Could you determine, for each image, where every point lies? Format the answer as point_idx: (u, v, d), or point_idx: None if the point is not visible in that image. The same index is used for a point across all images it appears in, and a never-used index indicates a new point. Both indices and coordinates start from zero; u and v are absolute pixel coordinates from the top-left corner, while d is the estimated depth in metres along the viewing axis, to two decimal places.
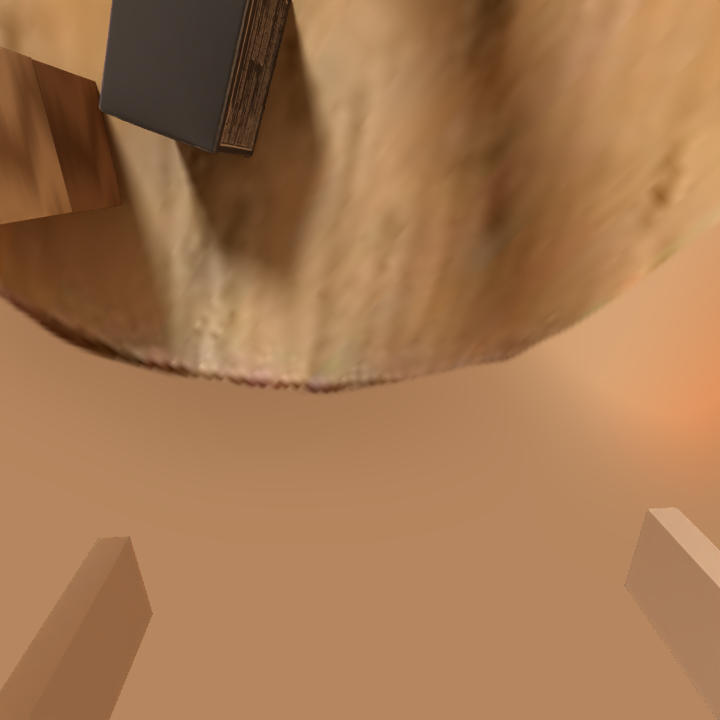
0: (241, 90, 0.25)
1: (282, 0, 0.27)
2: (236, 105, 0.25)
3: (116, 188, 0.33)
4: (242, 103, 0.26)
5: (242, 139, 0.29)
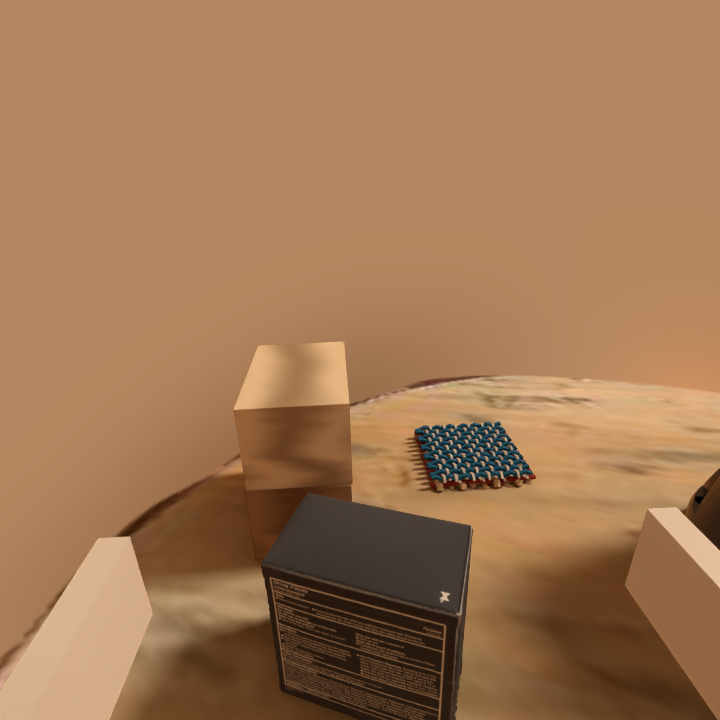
0: (324, 616, 0.23)
1: (433, 716, 0.23)
2: (309, 607, 0.23)
3: None
4: (315, 626, 0.24)
5: (288, 646, 0.25)
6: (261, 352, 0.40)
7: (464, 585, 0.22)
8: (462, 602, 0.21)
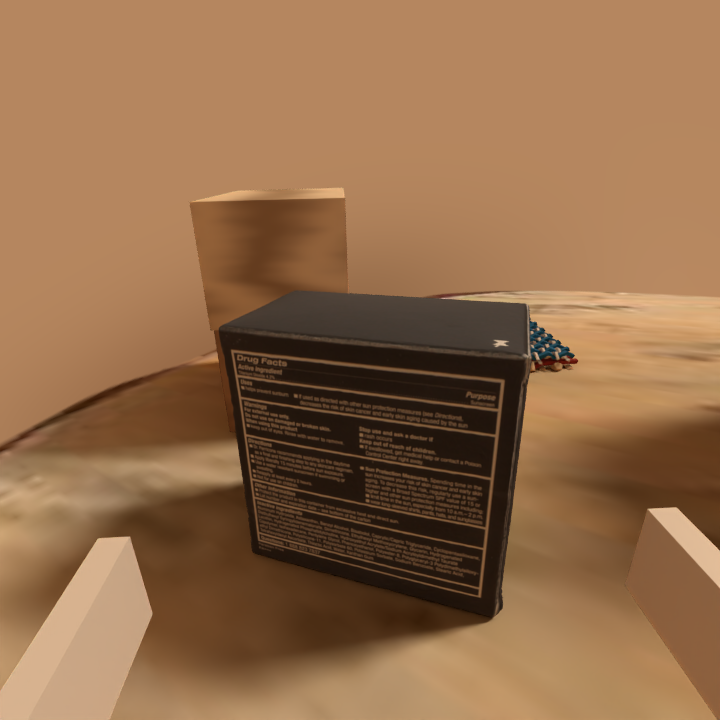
0: (311, 405, 0.15)
1: (474, 562, 0.16)
2: (289, 393, 0.16)
3: None
4: (299, 427, 0.16)
5: (261, 473, 0.17)
6: (239, 191, 0.32)
7: (528, 338, 0.14)
8: (529, 350, 0.13)
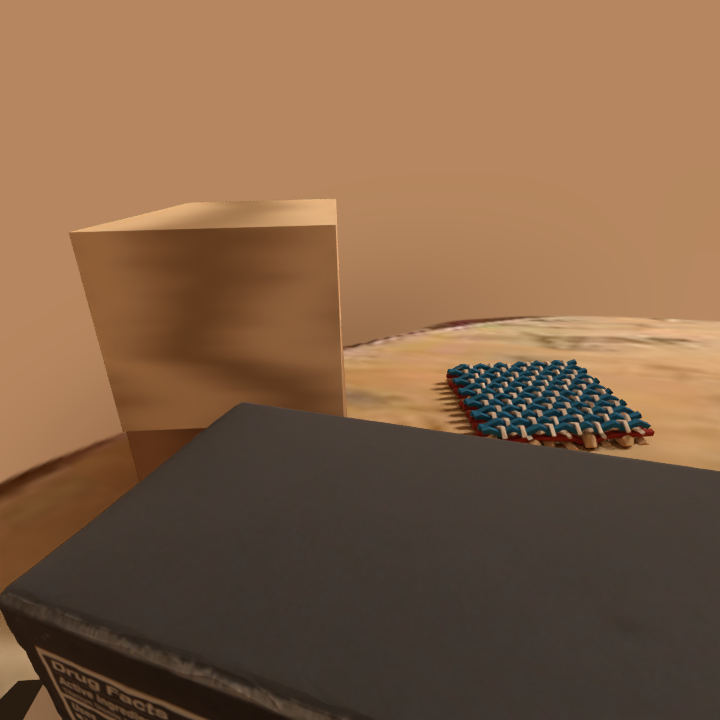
0: None
1: None
2: None
3: None
4: None
5: None
6: (188, 205, 0.23)
7: None
8: None
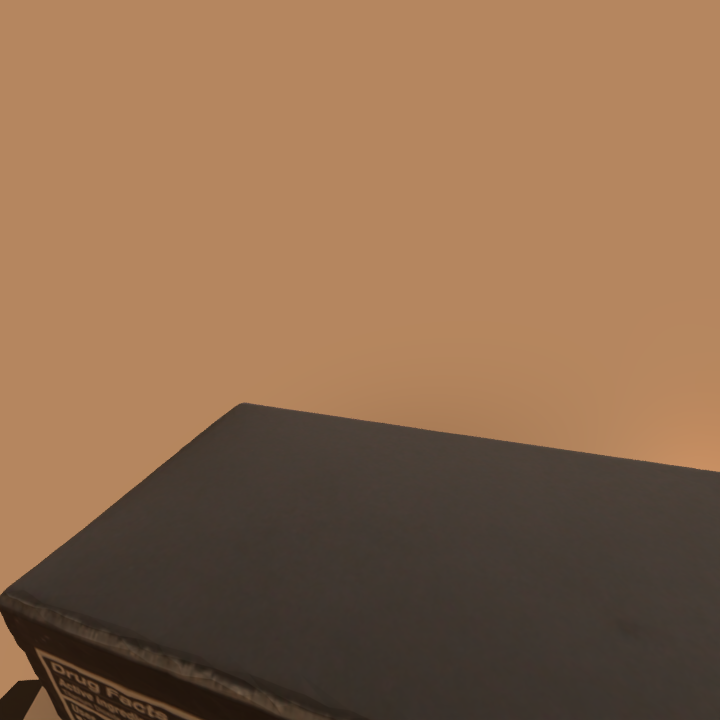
0: None
1: None
2: None
3: None
4: None
5: None
6: None
7: None
8: None
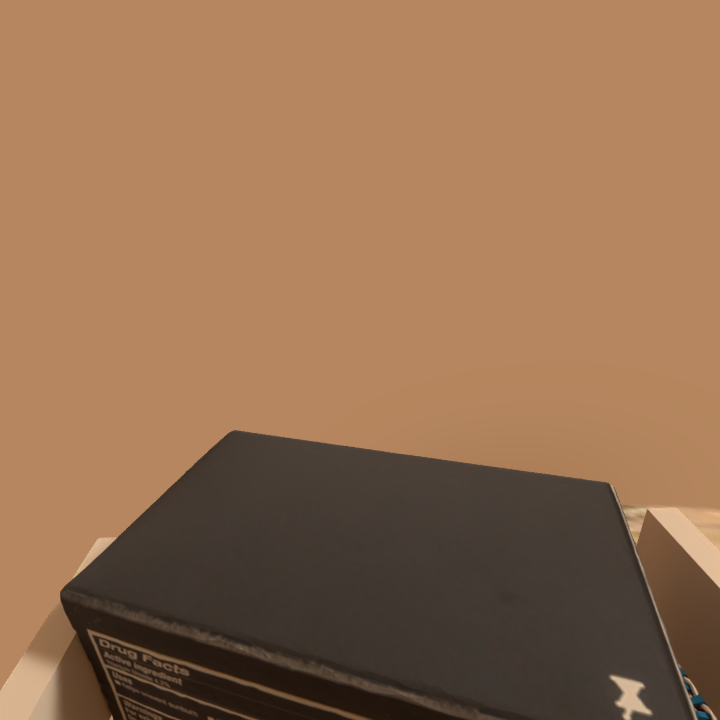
0: None
1: None
2: (200, 713, 0.08)
3: None
4: None
5: None
6: None
7: (670, 648, 0.07)
8: (694, 716, 0.06)
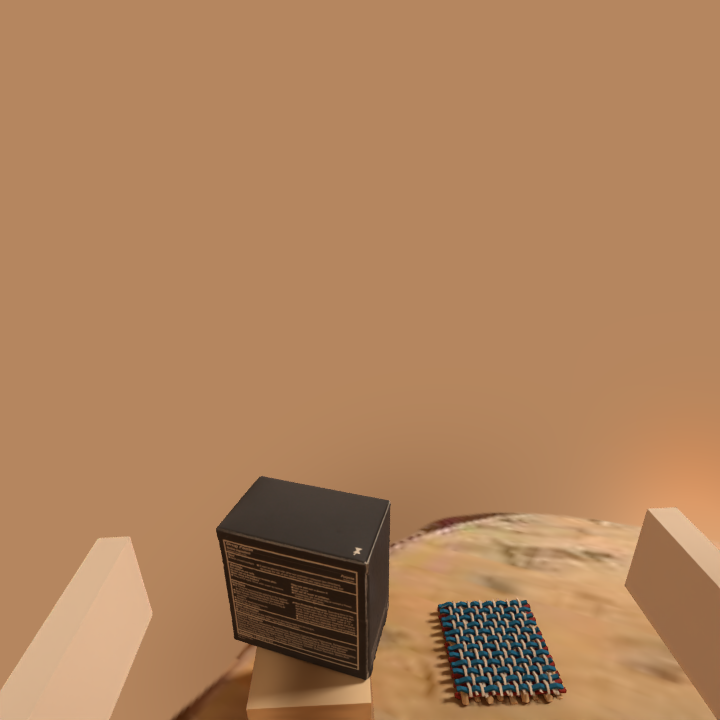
0: (266, 570, 0.29)
1: (353, 652, 0.29)
2: (254, 563, 0.29)
3: None
4: (260, 579, 0.29)
5: (239, 599, 0.31)
6: None
7: (374, 543, 0.28)
8: (370, 555, 0.27)
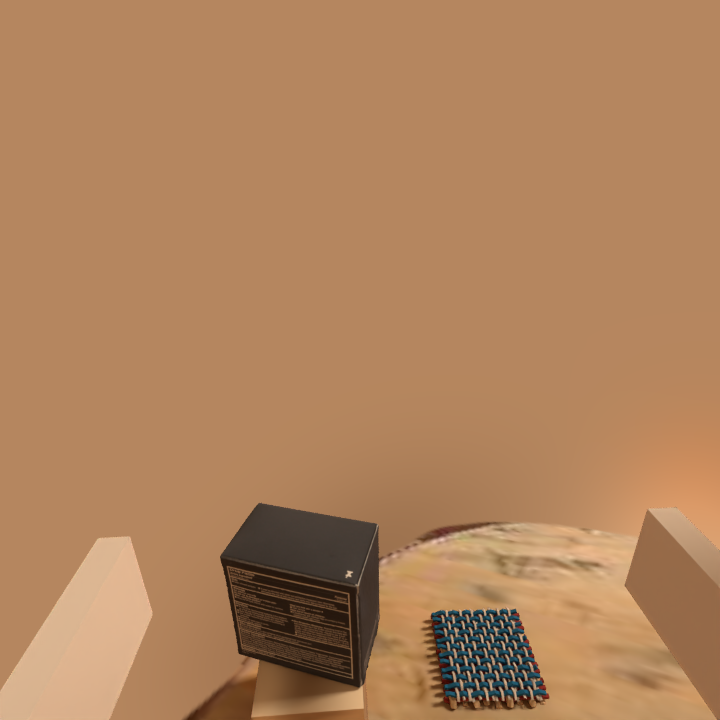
0: (266, 592, 0.32)
1: (347, 663, 0.32)
2: (256, 587, 0.32)
3: None
4: (261, 600, 0.32)
5: (242, 618, 0.34)
6: None
7: (364, 566, 0.31)
8: (361, 577, 0.30)
